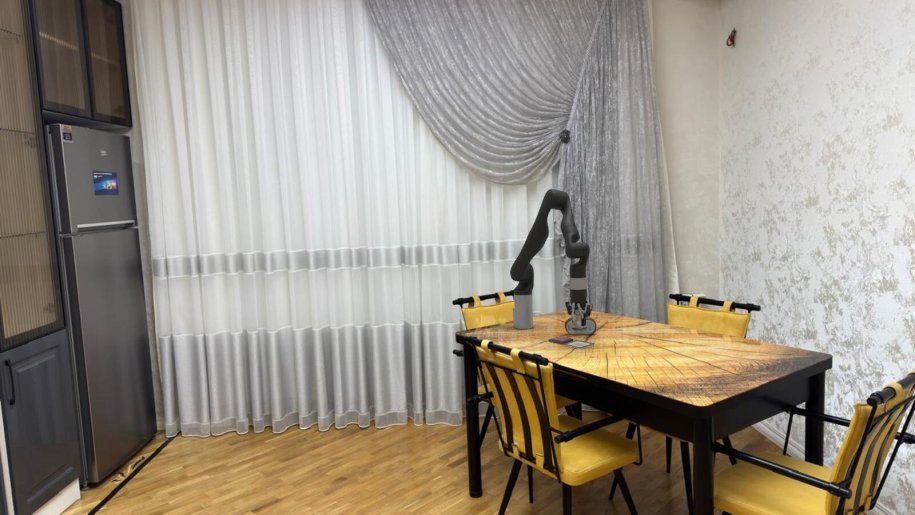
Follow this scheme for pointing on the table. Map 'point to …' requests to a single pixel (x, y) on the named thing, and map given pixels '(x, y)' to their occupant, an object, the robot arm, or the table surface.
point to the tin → (590, 330)
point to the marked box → (579, 344)
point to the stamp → (577, 322)
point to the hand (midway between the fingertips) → (579, 325)
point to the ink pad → (561, 340)
